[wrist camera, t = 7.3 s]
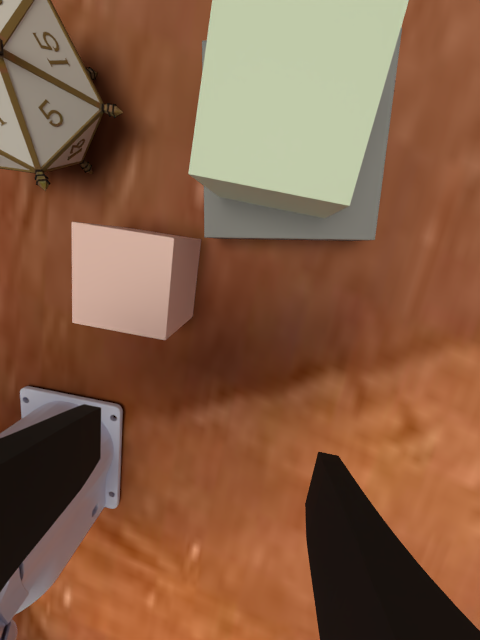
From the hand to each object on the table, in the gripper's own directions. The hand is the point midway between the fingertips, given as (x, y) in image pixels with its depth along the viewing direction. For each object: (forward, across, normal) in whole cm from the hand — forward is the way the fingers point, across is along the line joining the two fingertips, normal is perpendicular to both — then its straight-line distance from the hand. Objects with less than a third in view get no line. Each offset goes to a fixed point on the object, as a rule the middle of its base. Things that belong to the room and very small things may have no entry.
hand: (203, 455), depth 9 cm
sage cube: (+7, -1, -11) cm, 13 cm away
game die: (+11, +12, -12) cm, 20 cm away
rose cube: (+10, +6, -4) cm, 13 cm away
